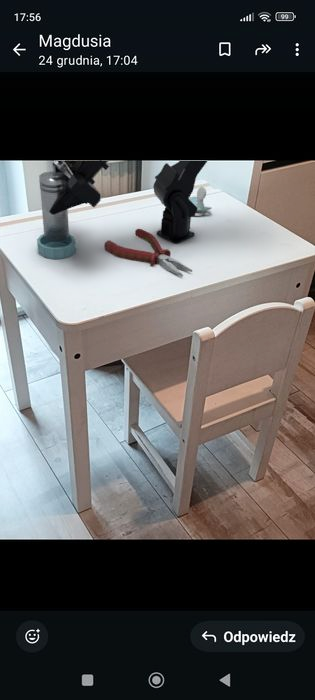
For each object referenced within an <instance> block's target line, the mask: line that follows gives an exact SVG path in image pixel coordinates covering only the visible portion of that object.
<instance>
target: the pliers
mask: <svg viewBox="0 0 315 700" xmlns="http://www.w3.org/2000/svg"><path fill="white" fill-rule="evenodd" d="M134 232H135V233H134V236H135V235H136V236H135V237H137V236H138V238H140V239H142V240H144V241H146V242H147V243H148V244H149V245H150V246H151V248H152V250H153V251H154V252H152V251H145V250H141V249H135V248H129V247H124V246H121V245H118V244H117V243H114V242H113V241H112V240H106V241H105V242H104V246H103V247H104V249H105V251H107V252H109V253H110V254H111V255H113V256H115V257H118V258H121V259H125V260H131V261H137V262H141V263H148V264H150V265H149V266H150V267H152V268H153V267H154V266H155V265H159V266H160V267H161V268H162V269H165V270H167V271H169V272H170V273H173V274H176V275H178V276H180V277H184V275H183V274H182V272H181V271H185V272H191V273H192V272H193V269H192V268H189V267H188V266H187V265H185V264H183V263H182V262H181V261H179V260H178V259H176V258H174V257H171V251H170V249H169V248H167V249H165V248H164V249H163V248H162V246H161V244H160V242H159V241H158V239H157V238H156V237H155V236H154V235H153V234H152V233H151V232H148V231H146V230H145V229H141V228H136V229H135V231H134ZM180 270H181V271H180Z"/></svg>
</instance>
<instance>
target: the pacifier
mask: <svg viewBox="0 0 315 700" xmlns="http://www.w3.org/2000/svg"><path fill="white" fill-rule="evenodd" d="M206 196H207V189H206V188H205V187H204V186H200V187H198V189H197V191H196V196H190V197H189V200H190V201H191V202H192V203H193V204H194V205H195V206H196V207H197V208H198V209H197V211H196V214H195V216H194V217H201V216H203V214H204V213H205V211H209V210H211V209H212V206H205V203H204V200H205V198H206Z"/></svg>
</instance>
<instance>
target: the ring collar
mask: <svg viewBox="0 0 315 700" xmlns="http://www.w3.org/2000/svg"><path fill="white" fill-rule="evenodd" d="M36 243H37V244H36V246H37V252H38V254H39V255H40V256H41V257H43V258H46V259H48V260H49V259H50V260H61V259H66V258H68V257H71V256H72V255H73V254H74V253H75V251H76V239H75V236H73V234H70V233H69V238H68V239H66V240H64V241H60V242H52V241H48V240H46V239H45V237H44V233H43V234H41V235H39V237H38V238H37V239H36Z"/></svg>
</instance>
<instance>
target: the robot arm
mask: <svg viewBox="0 0 315 700" xmlns="http://www.w3.org/2000/svg"><path fill="white" fill-rule="evenodd" d="M55 162H57V163H55ZM108 162H109V161H54V162H52V167H53V171H54V172H61V173H63V174H65V175H66V181H65V180H64V179H63V191H62V192H61V194H60V195H59V197H58V198H57V200H56V201H55V202H54V204H53V205H52V207H51V209H50V210H49V212H50V213H51V214H52V215H55V214H57V213H59V212H62V211H64V210H67V209H68V210H69V209H71V208H74V207H77V206H81V205H84V204H85V205H86V204H89V205H90V206H91V207H92V208H96V206H97V205H98V204H99V203H100V202H101V200H102V199H101V193H100V191H99V190H98V188H97V187H96V186H95V185H94V184H95V183H96V181H95V179H94V178H95V177H96V176H97V175H98V174H99V172H100V171H101V170H105V171H106V170H107V169H109V167H110V165H108ZM207 163H208V161H180V160H179V161H178V162H176V163H175V164H172V165H169V163H167V162H166V163H165V164H164V165H163V166H162V169H161V170H160V171H159V173H158V174H157V175H155V176H154V179H155V180H154V181H155V182H154V183H153V186H152V187H153V192H154V195H155V197H156V198H157V199H158V200H159V201H160V203H161V204H162V205H163V206H164V207H165V208H164V210H163V211H162V218H161V227H160V229H159V230H157V231H156V235H158V236H160V237H162V238H164V239H166V240H168V241H170V242H171V243H174V244H180V243H182V242H184V241H186V240H188V239H190V238H193V237H194V236H195V235H196V234H195V232H193V231H191V230H190V229H191V221H192V220H191V219H192V218H194V217H196V216H195V214H196V211H197V209H198V208H197V207H196V206H195V205H194V204H193V203H192V202H191V201H190V200H189V198H190V197H191V195H192V193H193V191H194V188H195V184H196V180H197V177H198V175H199V174H200V172H201V171H202V170H203V168H204V167H205V166H206V164H207Z"/></svg>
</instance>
